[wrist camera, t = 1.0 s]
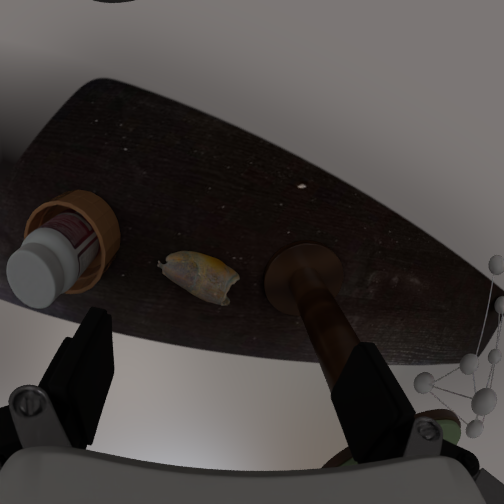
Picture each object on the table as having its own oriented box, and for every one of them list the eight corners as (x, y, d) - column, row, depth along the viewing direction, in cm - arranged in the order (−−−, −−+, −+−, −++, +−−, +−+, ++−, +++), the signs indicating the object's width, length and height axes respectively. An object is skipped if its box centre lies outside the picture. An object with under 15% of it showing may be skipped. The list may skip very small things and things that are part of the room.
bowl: (36, 212, 29) (10, 227, 24) (97, 173, 28) (74, 183, 23) (74, 281, 33) (55, 305, 28) (137, 251, 32) (123, 274, 27)
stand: (250, 259, 34) (296, 470, 11) (328, 227, 33) (471, 389, 11) (278, 322, 37) (331, 511, 15) (347, 293, 36) (451, 457, 14)
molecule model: (387, 366, 45) (423, 440, 27) (484, 246, 39) (557, 275, 22) (433, 399, 45) (470, 464, 28) (519, 294, 40) (581, 331, 22)
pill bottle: (51, 212, 29) (-9, 251, 18) (97, 199, 29) (43, 236, 18) (67, 263, 31) (19, 317, 21) (113, 254, 31) (71, 311, 21)
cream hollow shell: (164, 284, 34) (150, 284, 30) (176, 246, 34) (163, 240, 30) (232, 307, 33) (227, 311, 29) (245, 267, 34) (241, 264, 29)
